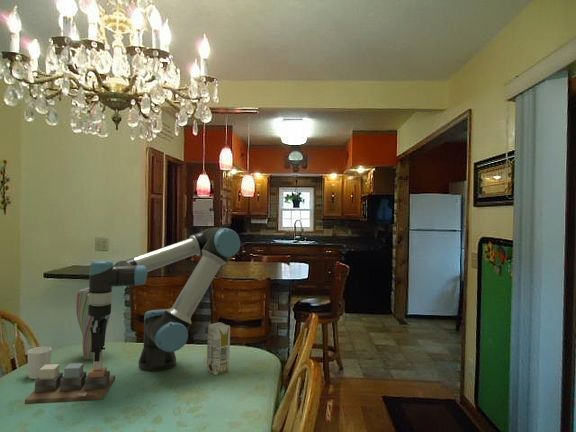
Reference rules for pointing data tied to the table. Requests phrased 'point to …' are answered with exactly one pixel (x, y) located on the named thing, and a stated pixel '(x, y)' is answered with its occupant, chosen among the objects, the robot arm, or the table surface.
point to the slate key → (73, 371)
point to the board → (70, 388)
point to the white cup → (38, 360)
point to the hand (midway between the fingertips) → (97, 369)
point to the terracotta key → (98, 372)
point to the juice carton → (218, 348)
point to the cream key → (49, 371)
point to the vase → (85, 321)
